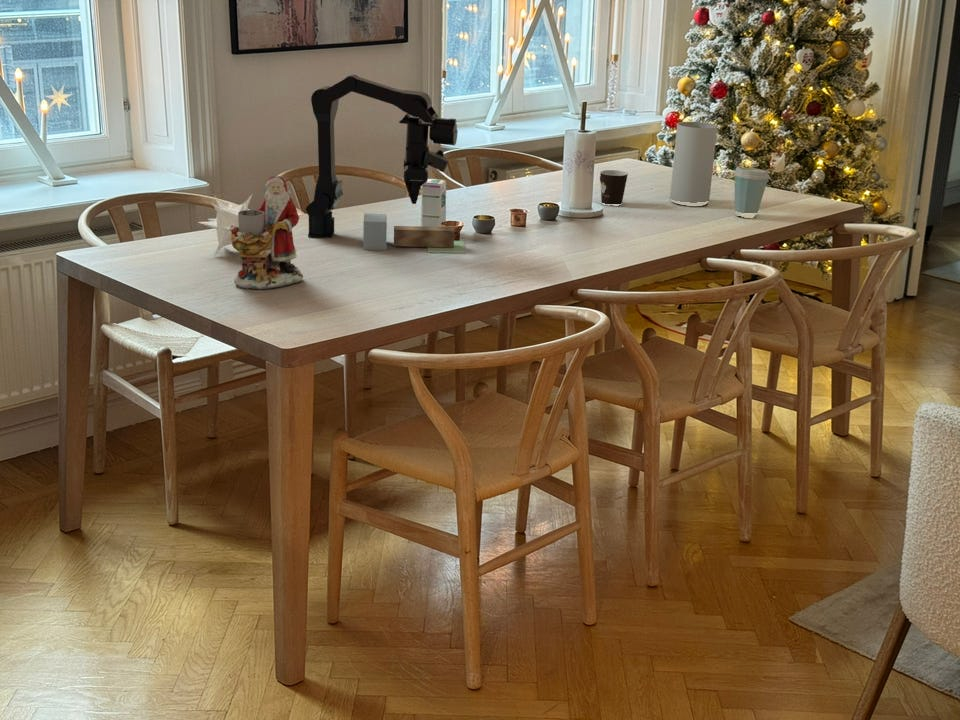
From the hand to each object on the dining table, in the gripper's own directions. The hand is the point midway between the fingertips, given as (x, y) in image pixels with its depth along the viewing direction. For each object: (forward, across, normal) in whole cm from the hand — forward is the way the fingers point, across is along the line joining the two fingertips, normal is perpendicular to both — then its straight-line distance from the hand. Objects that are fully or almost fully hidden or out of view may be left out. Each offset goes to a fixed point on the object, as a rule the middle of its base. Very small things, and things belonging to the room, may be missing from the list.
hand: (413, 199), depth 315 cm
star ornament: (+13, -13, +46) cm, 49 cm away
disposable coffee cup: (+9, +41, -104) cm, 112 cm away
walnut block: (+12, -4, -3) cm, 13 cm away
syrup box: (+12, +12, -6) cm, 18 cm away
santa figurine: (+13, -39, +34) cm, 54 cm away
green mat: (+11, -4, -9) cm, 15 cm away
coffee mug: (+10, +54, -64) cm, 84 cm away
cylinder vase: (+10, +58, -90) cm, 107 cm away
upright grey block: (+12, -4, +10) cm, 16 cm away
